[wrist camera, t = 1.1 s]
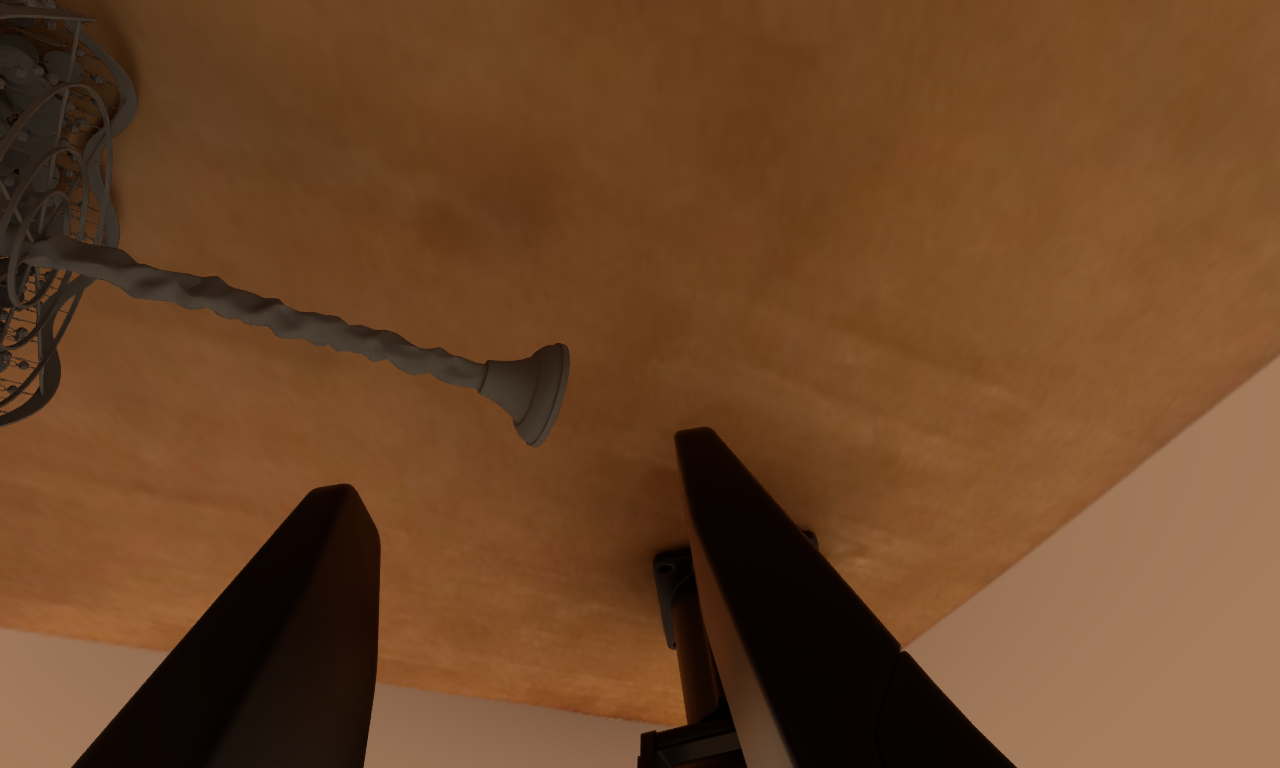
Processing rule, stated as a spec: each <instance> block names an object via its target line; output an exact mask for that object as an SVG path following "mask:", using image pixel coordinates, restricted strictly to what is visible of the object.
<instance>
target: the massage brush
mask: <svg viewBox="0 0 1280 768" xmlns="http://www.w3.org/2000/svg"><path fill="white" fill-rule="evenodd" d="M22 2H23V3H25V4H26V5H27V6H28V7H26V6H25V5H24V4H23V3H22ZM40 2H41V3H40ZM40 2H37V0H0V19H6V20H7V21H9V22H11V23H13V24H15V25H17V27H19V26H21V28H23V27H32V26H33V25H34V24H35V18H42V19H43V18H48V19H47V20H46V21H45V22H44V20H43V21H42V24H43V23H44V25H45V27H46V28H48V29H50V30H54V29H55V28H56V22H54V21H53V20H51V19H62V21H63V23H64V24H65V26H66V27H67V28H68V29H69V30H70V32H68V33H71V34H73V35H74V39H73V44H72V46H71V45H70V44H69V45H70V46H71V47H72V49H71V50H70V51H71V55H70V54H68V53H66V52H70V51H65V52H64V50H63V49H62V48H61V47H66V46H65V45H64V44H67V43H63V44H62V43H60V42H58V41H55V40H53V39H50V38H47V37H44V36H41V35H38V34H35V33H31V32H27V31H26V30H25V29H24V28H23V29H24V30H25V31H20V32H21V33H18V34H24V35H26V36H29V37H31V38H34V39H36V40H39V41H42V42H45V43H48V44H52V45H56V46H60V48H61V49H62V50H63V51H60V50H50V51H48V52H47V53H46V54H45V55H44V56H42V57H44V58H43V61H44V62H40V63H44V65H45V67H46V69H47V70H48V72H49V73H48V75H47V76H46V74H47V73H45V75H44V77H45V76H46V77H47V81H49V82H50V83H49V82H47V81H46V80H45V78H44V77H43V76H42V75H43V73H44V72H45V71H44V70H43V68H42V67H41V66H39V65H37V64H38V62H39V55H38V52H37V50H36V49H35V47H34V46H33V45H32V44H31V43H30V42H29V41H28V40H27V39H25V38H23V37H22V36H20V35H17V34H14V33H4V34H2V35H0V75H2V76H4V77H5V78H7V79H1V78H0V257H10V258H3V259H0V320H6V322H5V323H3V322H2V321H0V333H1V334H0V373H1V372H3V371H4V370H5V369H7V367H8V366H9V363H10V361H11V360H10V359H11V357H12V354H11V353H10V352H9V351H8V350H15V349H18V348H20V347H22V346H24V345H25V344H27V343H28V342H29V341H30V340H32V339H33V338H34V337H35V336H36V337H38V358H39V363H37V364H38V365H37V367H36V368H35V369H34V367H31V368H33V369H34V371H33V372H32V373H31V375H30V376H29V377H28V378H27V379H26V380H25V381H24V383H23V384H22V385H21V386H20V387H19V388H17V387H16V386H10V387H8V388H5V387H4V386H3V387H4V388H5V390H6V389H7V392H9V393H10V394H11V395H10V396H8V397H7V398H4V400H3V401H1V402H0V408H2V407H3V406H5V405H7V404H8V403H10V402H11V401H13V400H14V399H15V398H16V397H17V396H19V395H20V394H21V393H23V391H24V390H25V389H26V388H27V387H28V386H29V385H30V383H31V382H32V381H33V380H34V379H35V377H36V376H37V375H38V374H39V382H40V386H39V388H38V389H37V391H36V392H35V394H34V395H33V394H29V393H28V394H29V395H33V396H32V397H31V398H30V399H29V400H28V401H27V402H26V403H24V404H23V405H22V406H20V407H18V408H17V409H15V410H13V411H11V412H5V411H3V412H1V410H0V412H1V413H6V414H4V415H1V416H0V427H3V426H6V425H10V424H13V423H15V422H18V421H21V420H23V419H25V418H27V417H29V416H31V415H33V414H35V413H36V412H38V411H39V410H41V409H42V408H43V407H44V406H45V405H46V404H47V403H48V402H49V401H50V400H51V399H52V397H53V396H54V394H55V393H56V391H57V388H58V386H59V383H60V378H61V365H60V360H59V355H58V352H57V349H56V347H57V345H58V343H59V342H60V340H61V338H62V336H63V334H64V332H65V331H66V329H67V327H68V325H69V323H70V321H71V319H72V317H73V314H74V312H75V310H76V308H77V305H78V303H79V301H80V298H81V296H82V293H83V291H84V289H85V288H86V287H88V286H89V285H90V284H92V283H93V282H94V281H96V280H97V279H101V280H106V281H108V282H109V283H111V284H114V285H116V286H118V287H120V288H122V289H123V290H124V291H125V292H126V293H128V294H129V295H130V296H132V297H133V298H137V299H147V300H158V301H170V302H174V303H177V304H178V305H180V306H182V307H184V308H187V309H201V308H208V309H211V310H213V311H214V312H215V313H216V314H217V315H219V316H221V317H223V318H228V319H239V320H241V321H243V322H244V323H246V324H249V325H255V326H268V327H269V328H270V329H271V330H272V331H273V333H274V334H275V335H276V336H278V337H280V338H284V339H295V338H302V339H305V340H307V341H309V342H311V343H313V344H314V345H316V346H324V345H330V346H331V347H332V348H334V349H335V350H336V351H348V352H353V353H359V354H363V355H365V356H366V357H367V358H369V359H370V360H371V361H373V362H376V361H380V360H383V359H387V360H389V361H390V362H392V363H393V364H394V365H395V366H396V367H398V368H399V369H401V370H402V371H404V372H406V373H409V374H412V375H418V374H422V373H430V374H432V375H434V376H435V377H436V378H437V379H438V380H441V381H443V382H445V383H448V384H452V385H456V386H460V387H467V388H473V389H478V393H479V394H481V395H483V396H485V397H487V398H489V399H490V400H492V401H494V402H495V403H497V404H498V405H499V406H501V407H502V408H503V409H504V410H505V411H506V412H507V413H508V414H509V415H510V416H511V417H512V418H513V422H514V427H515V429H516V431H517V433H518V434H519V436H520V437H521V438H522V439H523V440H524V441H526V443H527V445H529V446H533V447H538V446H540V445H541V444H542V443H543V442H544V440H545V439H546V438H547V436H548V434H549V433H550V431H551V429H552V427H553V425H554V423H555V420H556V418H557V415H558V413H559V410H560V407H561V404H562V400H563V397H564V394H565V389H566V385H567V380H568V374H569V365H570V356H569V350H568V347H567V346H566V345H564V344H561V343H556V344H554V345H548V346H545V347H543V348H541V349H539V350H538V351H536V352H535V353H534V354H533V355H532V357H529V358H526V359H522V360H516V361H494V360H487V362H486V363H485V364H480V363H475V362H473V361H470V360H468V359H465V358H463V357H460V356H454V355H451V354H449V353H448V352H447V351H445V350H444V349H442V348H440V347H439V348H433V349H422V348H418V347H416V346H415V345H413V344H411V343H410V342H408V341H407V340H405V339H404V338H403V337H401V336H400V335H398V334H396V333H394V332H391V331H388V330H373V329H371V328H368V327H366V326H362V325H348V324H347V323H346V322H344V321H343V320H342V319H341V318H340V317H337V316H330V315H323V314H319V313H315V312H299V311H296V310H293V309H292V308H290V307H288V306H286V305H284V304H283V303H282V302H281V301H280V300H279V299H276V298H263V297H260V296H258V295H256V294H254V293H251V292H247V291H244V290H240V289H235V288H233V287H230V286H228V285H227V284H226V283H225V282H224V281H223V280H222V279H220V278H219V277H218V276H210V277H199V276H194V275H191V274H186V273H178V272H170V271H164V270H159V269H156V268H154V267H151V266H148V265H145V264H139V263H137V262H136V261H135V260H134V259H132V258H131V257H130V256H129V255H128V254H127V253H126V252H124V251H123V250H121V249H118V244H119V238H120V227H119V221H118V217H117V213H116V210H115V207H114V205H113V203H112V200H111V198H110V196H109V194H110V187H111V177H112V154H113V151H112V139H113V138H114V137H115V136H117V135H118V134H119V133H121V132H122V131H123V130H124V129H125V128H126V127H127V126H128V125H129V124H130V123H131V121H132V120H133V118H134V116H135V114H136V111H137V105H138V100H137V94H136V90H135V87H134V85H133V83H132V81H131V79H130V78H129V76H128V75H127V74H126V72H125V71H124V70H123V69H122V67H121V66H120V65H119V64H118V63H117V62H116V61H115V60H114V59H113V58H112V57H111V56H110V55H109V54H108V53H106V52H105V51H104V50H103V49H102V48H101V47H100V46H99V45H98V44H97V43H96V42H95V41H94V40H93V39H92V38H91V37H90V36H89V35H88V34H87V32H86V31H85V30H84V28H83V26H82V24H83V23H85V22H98V19H96V18H93V17H90V16H88V15H85V14H82V13H80V12H77V11H70V10H69V9H68V10H67V8H66V9H65V10H64V8H62V7H60V8H59V9H61V8H62V10H58V9H55V8H56V6H57V5H56V2H55V0H41V1H40ZM42 2H43V4H42ZM58 7H59V6H57V8H58ZM45 8H46V9H45ZM0 25H2V26H5V27H8V28H11V29H13V31H14V29H15V30H19V29H17V28H16V27H13V26H11V25H8V24H6V23H3V22H1V21H0ZM35 25H37V24H35ZM39 25H41V24H39ZM57 28H59V27H57ZM60 29H62V28H60ZM62 30H64V31H65V32H66V29H62ZM67 31H68V30H67ZM14 32H15V31H14ZM16 33H17V32H16ZM78 39H79V40H80V41H81V42H82V43H83V44H84V45H85V46H86V47H87V48H88V49H90V50H91V51H92V52H93V53H94V54H95V55H96V56H97V57H98V58H99V59H100V61H102V62H103V63H104V64H105V66H106V67H107V68H108V69H109V70H110V72H111V73H112V75H113V76H114V78H115V80H116V82H117V84H118V88H119V92H120V105H119V109H118V111H117V113H116V114H115V116H114V117H113V118H112V119H111V121H109V117H108V114H107V111H106V108H105V105H104V104H105V103H103V102H104V101H103V100H102V99H101V98H100V96H99V95H98V94H97V93H96V92H95V91H94V90H93V89H92V88H90V87H88V86H86V85H83V84H80V82H81V81H82V80H83V79H85V78H84V72H87V71H83V68H82V66H81V65H80V63H79V62H78V61H77V60H76V59H75V55H77V56H78V57H81V56H84V54H85V50H83V49H82V48H81V47H80V46H78V47H77V43H78ZM86 55H88V54H86ZM33 56H36V57H35V58H34V57H33ZM88 56H90V57H91V55H88ZM92 58H94V56H92ZM98 58H97V60H99V59H98ZM94 59H96V57H95V58H94ZM47 60H48V61H49V63H48V62H47ZM78 72H80V74H79V73H78ZM88 73H89V72H88ZM90 74H91V73H90ZM91 77H92V75H91V76H90V78H91ZM90 78H89V79H90ZM92 80H93V81H94V82H95V83H96V84H101V83H103V77H101V76H100V75H99V74H95V75H93V77H92ZM58 81H61V82H63V84H59V85H55V84H56V83H57V82H58ZM104 82H106V81H104ZM52 83H55V84H52ZM106 83H108V84H109V82H106ZM110 85H112V83H110ZM113 85H114V84H113ZM113 85H112V86H113ZM51 87H52V88H51ZM70 87H76V88H78V87H83V88H85V89H86V90H85V91H88V92H90V93H91V95H92V96H93V97H94V99H92V98H91V100H90V101H92V100H93V104H95V105H96V106H99V108H100V111H101V114H102V117H103V118H102V119H103V121H104V127H103V128H101V129H100V128H99V127H98V129H100V130H99V131H98V132H97V133H95V134H94V135H91V134H90V133H89V134H90V135H91V136H92V137H91V138H90V139H89V141H88V142H87V144H86V146H85V148H84V149H83V150H84V151H83V158H82V157H81V155H80V154H79V153H78V152H77V151H75V150H73V149H71V148H68V146H69V144H70V143H69V140H67V139H66V138H61V139H59V137H60V132H61V129H65V128H61V127H63V126H65V125H66V124H67V122H68V120H69V113H68V111H73V110H74V109H77V108H75V104H73V103H72V102H70V101H67V96H69V95H71V96H74V97H77V98H78V99H79V98H81V100H84V99H85V97H84V96H88V95H80V94H78V93H76V92H74V91H71V90H69V88H70ZM115 87H117V86H115ZM79 89H81V88H79ZM82 90H84V89H82ZM57 93H58V94H59V95H61V96H62V100H61V99H60V98H56V97H55V96H54V95H55V94H57ZM89 97H90V96H89ZM59 99H60V100H59ZM84 101H87V100H84ZM88 102H89V101H88ZM91 103H92V102H91ZM106 105H107V106H108V104H106ZM110 106H111V105H110ZM110 106H109V107H110ZM111 108H113V106H111ZM114 108H115V107H114ZM115 109H116V108H115ZM78 110H80V109H78ZM21 111H24V112H23V113H22V112H21ZM80 111H81V110H80ZM84 111H85V110H84ZM84 111H83V110H82V112H83V113H85V112H86V111H85V112H84ZM17 113H18V116H19V118H18V120H17V121H16V122H13V123H12V124H10V125H12V126H10V127H11V128H10V127H9V124H8V122H7V120H6V118H9V117H10V116H11V115H12V114H17ZM87 114H89V113H88V112H87ZM64 115H65V116H66V117H65V118H64V117H63V116H64ZM90 115H92V114H90ZM93 116H95V115H93ZM12 117H14V116H12ZM72 117H74V116H72ZM96 117H98V116H96ZM15 118H17V117H15ZM74 118H75V117H74ZM99 118H101V117H99ZM75 121H76V118H75ZM3 122H5V123H3ZM70 122H74V121H70ZM76 122H77V123H78V124H79V125H80V126H86V125H87V124H88V123H87V120H86V119H85V118H84V117H81V118H78V119H77V121H76ZM89 125H91V124H89ZM91 126H92V125H91ZM93 127H95V128H97V126H95V125H93ZM66 128H68V130H69V131H70V132H71V133H78V132H79V131H81V130H80V128H79V127H78V126H77V125H76V124H69V126H68V125H67V126H66ZM55 132H56V134H54V133H55ZM82 132H84V131H82ZM84 133H85V132H84ZM85 134H88V133H87V132H86V133H85ZM89 134H88V135H89ZM26 140H27V141H26ZM25 141H26V142H25ZM70 145H72V144H70ZM72 146H73V145H72ZM75 146H76V145H74V147H75ZM105 146H107V166H104V167H106V180H105V185H104V183H103V180H102V177H101V173H100V156H101V153H102V151H103V149H104V147H105ZM76 148H78V146H77V147H76ZM79 148H80V147H79ZM80 149H82V148H80ZM63 151H67V152H68V151H70V152H71V153H70V155H69V152H68V154H67V155H68V156H70V158H71V159H72V160H73V161H78V164H79V167H80V170H81V171H80V173H78V175H76V176H77V178H76V179H75V180H69V181H68V182H67V181H66V182H65V183H66V184H68V185H69V187H70V189H69V191H68V192H67V194H65V193H64V192H62V191H59V190H58V189H56V188H55V187H56V186H57V184H58V183H62V182H59V180H62V179H60V173H59V170H58V169H59V168H57V167H56V166H58V165H56V164H55V159H57V158H58V157H59V155H60V154H61V152H63ZM67 155H61V156H67ZM101 166H103V165H101ZM58 167H59V166H58ZM60 168H62V166H60ZM63 168H64V167H63ZM63 168H62V169H63ZM14 169H19V175H18V174H16V173H14V172H13V171H14ZM60 170H61V169H60ZM61 172H62V171H61ZM73 172H74V171H72V170H71V169H66V168H65V169H64V171H63V172H62V173H64V175H65V176H66V177H72V176H73V175H75V174H73ZM75 173H77V172H75ZM81 177H82V186H80V187H82V188H83V197H82V202H79V204H75V203H74V204H73V205H76V206H78V208H79V209H81V211H79V212H81V218H80V224H79V229H78V234H76V236H77V238H76V240H74V239H72V238H70V237H69V235H70V233H71V219H72V217H73V214H72V213H71V206H70V204H71V203H72V202H70V201H69V197H70V195H71V194H72V192H73V190H74V189H75V188H76V189H77V187H78V186H79V185H78V182H79V181H80V179H81ZM54 178H56V180H54ZM64 181H65V180H64ZM88 182H89V184H90V186H91V188H92V190H91V191H93V193H94V195H95V197H96V199H97V202H98V204H99V207H100V210H101V214H100V219H99V224H96V225H98V228H97V232H96V236H95V240H93V241H94V244H93V245H92V244H86V243H82V240H87V238H88V235H87V234H86V233H84V229H85V224H86V222H88V221H86V218H87V211H88V208H89V207H88V199H89V190H90V189H89V184H88ZM55 208H56V209H57V210H56V212H55V213H54V211H55ZM62 209H64V210H63V211H64V212H63V213H61V210H62ZM90 209H92V210H93V208H90ZM48 210H51V211H48ZM72 210H74V209H72ZM76 211H77V210H76ZM93 211H97V210H93ZM98 212H100V211H98ZM59 213H60V214H59ZM61 214H62V215H63V216H62V215H61ZM75 218H77V219H78V217H75ZM32 220H35V221H34V222H33V221H32ZM78 220H79V219H78ZM90 223H91V222H90ZM93 224H94V223H93ZM103 226H104V234H103V240H102V242H101V243H102V244H101V246H99V242H100V239H101V235H102V231H103ZM73 234H74V233H73ZM73 234H71V235H73ZM90 239H91V240H92V238H90ZM39 267H42V268H50V269H52V270H51V272H46V273H45V274H43V275H42V274H40V273H39ZM59 269H60V270H66V273H65V275H64V278H63V279H62V278H59V280H60V279H62V280H61V281H62V282H61V285H60V287H59V289H58V291H57V292H55V293H54V294H53V295H52V296H49V298H48V299H47V301H46V302H45V303H44V304H43V302H41V301H40V300H41V299H42V297H43V296H44V295H45V294H46V292H47V291H48V289H49V288H51V287H52V286H51V284H52V283H53V281H54V279H55V278H57V277H56V275H57V273H58V270H59ZM30 271H32V272H30ZM72 272H75V273H78V274H81V275H80V276H78V277H77V278H76V279H74V280H73V281H71V282H70V283H68V282H69V279H70V276H71V274H72ZM33 274H35V276H34V277H35V282H34V283H35V286H36V292H35V291H33V292H34V294H35V293H36V295H35V296H34V297H33V298H32V299H31V300H30V301H28V302H27V300H25V302H27V303H24V304H21V303H23V301H24V292H26V290H27V286H25V284H26V283H27V282H30V281H28V278H29V276H33ZM39 275H42V276H44V278H45V280H46V282H45V281H43V280H39V278H40V277H39ZM41 279H43V278H41ZM57 279H58V278H57ZM30 283H33V282H30ZM34 283H33V284H34ZM67 283H68V284H67ZM40 288H41V289H40ZM53 288H54V287H53ZM53 288H52V289H53ZM54 289H56V288H54ZM28 291H30V292H31V290H28ZM33 292H32V293H33ZM74 295H76V296H75V298H74V301H73V303H72V305H71V308H70V310H69V312H66V313H68V314H67V316H66V318H65V320H64V322H63V324H62V326H61V328H60V330H59V332H58V334H57V336H56V337H55V339H54V338H53V324H54V320H55V317H56V315H57V313H58V311H61V310H60V308H61V307H62V306H63V305H64V304H65V303H66V302H67V301H68V300H69V299H70V298H72V297H73V296H74ZM45 296H47V295H45ZM42 304H43V305H42ZM30 307H34V308H36V310H37V320H36V323H34V324H36V326H35V328H34V329H33V330H32V331H31V332H30V333H27V332H28V330H26V329H25V328H23V327H22V328H18V329H17V330H14V329H13V330H14V332H16V335H15V337H13V338H14V339H15V340H17V342H18V343H16V344H14V345H11V346H4V345H2V343H3V340H4V337H5V336H6V334H8V333H7V331H8V328H10V327H9V324H10V322H11V319H12V318H13V317H12V316H13V314H14V311H15V310H16V311H22V310H23V309H26V310H28V311H29V309H27V308H30ZM3 308H11V309H10V311H9V313H8V312H6V311H5V310H3ZM40 308H41V309H40ZM2 310H3V311H2ZM30 312H35V311H32V310H31V311H30ZM62 312H64V311H62ZM13 319H14V318H13ZM16 319H17V320H18V318H16ZM16 319H15V320H16ZM18 321H25V320H21V319H20V320H18ZM26 322H28V321H26ZM30 323H32V322H30ZM11 329H12V328H11ZM8 332H10V331H8ZM27 334H28V335H27ZM9 335H11V334H9ZM25 335H27V336H26V337H25ZM11 336H12V335H11ZM13 336H14V335H13ZM7 337H9V336H7ZM5 339H7V338H5ZM9 340H11V339H9ZM15 340H13V341H15ZM31 342H37V341H33V340H32V341H31ZM42 355H43V358H42ZM13 358H15V359H17V358H16V357H13ZM20 359H21V358H18V360H20ZM22 360H23V362H20V363H19V364H18V365H17V363H16V362H15V363H16V366H18V367H19V368H20V369H21V370H26V369H28V368H29V364H28V363H27V362H26V361H27V360H26V361H25V360H24V359H22ZM4 361H6V363H4ZM13 362H14V361H13ZM29 362H31V361H29ZM33 363H35V362H33ZM10 366H11V365H10ZM13 367H15V366H13ZM43 367H44V370H43ZM43 371H44V374H43ZM0 379H1V378H0ZM2 381H6V380H5V379H4V380H3V379H2ZM7 381H9V380H7ZM10 382H13V381H10ZM14 383H17V382H14ZM19 384H21V383H19ZM0 386H2V385H0ZM5 390H0V391H5ZM25 393H26V394H27V392H24V394H25ZM0 398H2V397H0Z"/></svg>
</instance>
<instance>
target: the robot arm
mask: <svg viewBox="0 0 1280 768" xmlns="http://www.w3.org/2000/svg"><path fill="white" fill-rule="evenodd" d="M674 443H675V450H676V458H677V465H678V473H679V480H680V487H681V493H682V499H683V505H684V511H685V517H686V523H687V529H688V535H689V541H690V546H691V549H685V550H678V551H672V552H665V553H661V554H658V555H657V556H655V557H654V559H653V562H652V563H653V571H654V576H655V581H656V587H657V592H658V597H659V603H660V608H661V613H662V619H663V624H664V629H665V635H666V640H667V645H668V647H669V648H670V649H673V650H677V656H678V663H679V670H680V677H681V683H682V690H683V697H684V704H685V711H686V718H687V724H688V725H686V726H682V727H678V728H673V729H669V730H665V731H662V732H656V731H655V730H654V731H650V732H646V733H642V734H641V747H640V748H641V751H640V756H638V763H637V764H638V766H637V768H1017V767H1016V766H1015V765H1014V764H1013V763H1012V762H1011V761H1010V760H1009V759H1008V758H1007V757H1005V755H1004V754H1002V753H1001V752H1000V751H999V750H998V749H997V748H996V747H995V746H994V745H993V744H992V743H991V742H990V741H989V740H988V739H987V738H986V737H985V736H984V735H983V734H982V733H981V732H980V731H979V730H978V729H977V728H976V727H975V726H974V725H973V724H972V723H971V722H970V721H969V720H968V719H967V718H966V716H965V715H964V714H963V713H962V712H961V711H960V710H959V709H958V708H957V707H956V706H955V705H954V703H953V702H952V701H951V700H950V699H949V698H948V697H947V696H946V695H945V694H944V693H943V692H942V690H941V689H940V688H939V687H938V686H937V685H936V684H935V683H934V682H933V681H932V680H931V679H930V677H929V676H928V675H927V674H926V673H925V672H924V670H923V669H922V668H921V667H920V666H919V665H918V664H917V662H916V661H915V660H914V659H913V658H912V657H911V655H910V654H909V653H908V652H906V651H902V652H901V645H900V643H899V642H898V641H897V640H896V639H895V638H894V636H893V635H892V634H891V633H890V632H889V631H888V630H887V628H886V627H885V626H884V625H883V624H882V623H881V622H880V620H879V619H878V618H877V617H876V616H875V615H874V613H873V612H872V611H871V610H870V609H869V608H868V607H867V605H866V604H865V603H864V602H863V601H862V600H861V599H860V597H859V596H858V595H857V594H856V593H855V592H854V591H853V589H852V588H851V587H850V586H849V585H848V584H847V583H846V581H845V580H844V579H843V578H842V577H841V576H840V575H839V573H838V572H837V571H836V570H835V569H834V568H833V566H832V565H831V564H830V563H829V562H828V561H827V560H826V558H825V557H824V556H823V555H822V554H821V553H820V552H819V550H818V549H819V545H818V541H817V538H816V535H815V533H813V532H811V531H801V530H800V529H799V527H798V526H797V525H796V524H795V523H794V522H793V521H792V519H791V518H790V517H789V516H788V515H787V514H786V513H785V511H784V510H783V509H782V508H781V507H780V506H779V505H778V503H777V502H776V501H775V500H774V499H773V498H772V497H771V495H770V494H769V493H768V492H767V491H766V490H765V489H764V487H763V486H762V485H761V484H760V483H759V482H758V480H757V479H756V478H755V477H754V476H753V475H752V474H751V472H750V471H749V470H748V469H747V468H746V467H745V466H744V464H743V463H742V462H741V461H740V460H739V459H738V458H737V456H736V455H735V454H734V453H733V452H732V451H731V450H730V448H729V447H728V446H727V445H726V444H725V443H724V441H723V440H722V439H721V438H720V437H719V436H718V435H717V433H716V432H715V431H714V430H713V429H711V428H709V427H699V428H693V429H686V430H680V431H677V432H676V433H675V435H674ZM380 556H381V545H380V538H379V533H378V530H377V528H376V526H375V524H374V522H373V520H372V518H371V516H370V514H369V513H368V511H367V509H366V507H365V505H364V503H363V502H362V500H361V498H360V496H359V494H358V492H357V491H356V489H355V488H354V487H353V486H352V485H350V484H345V483H344V484H337V485H331V486H325V487H319V488H316V489H313V490H312V491H310V492H309V493H308V494H307V495H306V496H305V497H304V499H303V500H302V501H301V502H300V503H299V504H298V506H297V507H296V508H295V509H294V510H293V511H292V513H291V514H290V515H289V516H288V517H287V518H286V519H285V521H284V522H283V523H282V524H281V525H280V526H279V528H278V529H277V530H276V531H275V532H274V533H273V535H272V536H271V537H270V538H269V539H268V540H267V541H266V543H265V544H264V545H263V546H262V547H261V548H260V550H259V551H258V552H257V553H256V554H255V555H254V557H253V558H252V559H251V560H250V561H249V562H248V563H247V565H246V566H245V567H244V568H243V569H242V570H241V572H240V573H239V574H238V575H237V576H236V577H235V579H234V580H233V581H232V582H231V583H230V584H229V585H228V587H227V588H226V589H225V590H224V591H223V592H222V594H221V595H220V596H219V597H218V598H217V599H216V601H215V602H214V603H213V604H212V605H211V606H210V607H209V609H208V610H207V611H206V612H205V613H204V614H203V616H202V617H201V618H200V619H199V620H198V621H197V623H196V624H195V625H194V626H193V627H192V628H191V629H190V631H189V632H188V633H187V634H186V635H185V636H184V638H183V639H182V640H181V641H180V642H179V643H178V645H177V646H176V647H175V648H174V649H173V650H172V651H171V653H170V654H169V655H168V656H167V657H166V658H165V660H164V661H163V662H162V663H161V664H160V665H159V667H158V668H157V669H156V670H155V671H154V672H153V673H152V675H151V676H150V677H149V678H148V679H147V680H146V682H145V683H144V684H143V685H142V686H141V687H140V689H139V690H138V691H137V692H136V693H135V694H134V695H133V697H132V698H131V699H130V700H129V701H128V703H127V704H126V705H125V706H124V707H123V708H122V709H121V710H120V712H119V713H118V714H117V715H116V716H115V717H114V719H113V720H112V721H111V722H110V723H109V725H108V726H107V727H106V728H105V729H104V730H103V731H102V733H101V734H100V735H99V736H98V737H97V738H96V739H95V741H94V742H93V743H92V744H91V745H90V746H89V748H88V749H87V750H86V751H85V752H84V753H83V754H82V756H81V757H80V758H79V759H78V760H77V761H76V763H75V764H74V765H73V766H72V767H71V768H363V767H364V761H365V754H366V747H367V739H368V733H369V726H370V719H371V712H372V706H373V699H374V692H375V683H376V675H377V658H378V627H379V591H380Z"/></svg>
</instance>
